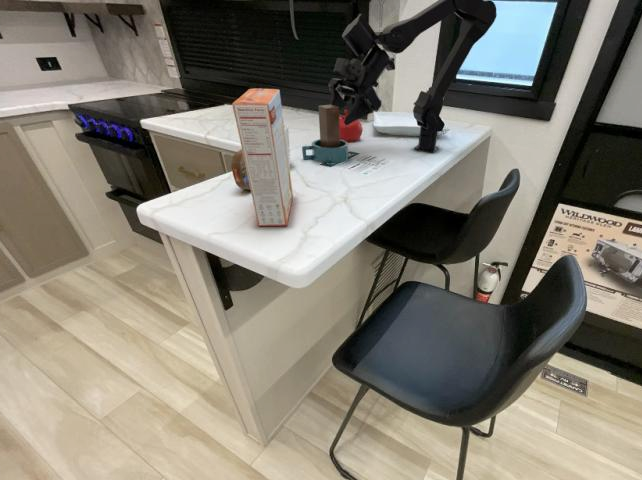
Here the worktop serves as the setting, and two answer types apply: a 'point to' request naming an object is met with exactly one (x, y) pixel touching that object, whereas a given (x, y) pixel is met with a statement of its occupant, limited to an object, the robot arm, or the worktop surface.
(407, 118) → the square plate
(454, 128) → the worktop surface
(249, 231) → the worktop surface
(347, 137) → the pomegranate
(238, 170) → the tin
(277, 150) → the cracker box
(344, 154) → the teal mug
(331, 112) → the block
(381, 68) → the robot arm
